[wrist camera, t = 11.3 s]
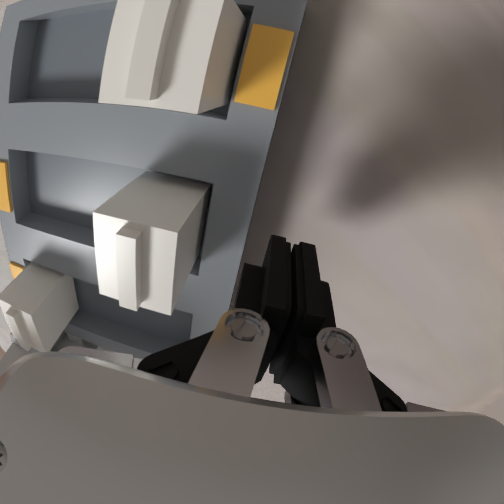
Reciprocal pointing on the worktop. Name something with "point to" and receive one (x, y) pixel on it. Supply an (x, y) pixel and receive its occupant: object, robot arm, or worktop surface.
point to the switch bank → (128, 159)
